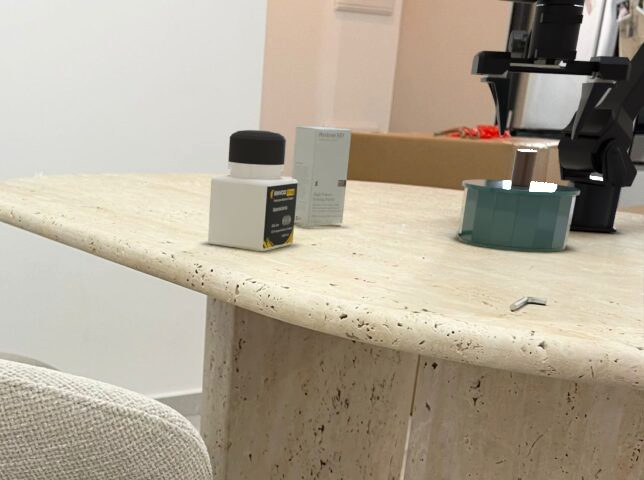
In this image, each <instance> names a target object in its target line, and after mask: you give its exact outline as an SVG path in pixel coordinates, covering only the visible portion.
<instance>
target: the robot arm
mask: <svg viewBox="0 0 644 480" xmlns="http://www.w3.org/2000/svg"><path fill="white" fill-rule="evenodd" d="M499 1H501V2H511V3H520V4H535V9H534V14H533V15H534V16H533V18H532V23H531V28H530V31H529V32H527V30H519V29H517V30H515V29H513V30H512V31H511V32H510V35H509V40H508V45H507V51H500V50H481V51H478V52H477V53H476V54H474V56H473V59H472V64H471V71H470V75H473V76H474V75H475V76H482V77H480V78H479V79H480V80H479V81H480V83H486V84H487V86H488V88H489V90H490V93H491V96H492V97H491V98H492V100H493V104H494V108H495V115H496V121H497V127H498V133H499V134H498V135H499V136H501V137H504V136H505V132H506V127H507V121H508V113H509V112H508V110H509V100H510V99H509V98H510V88H511V77H510V78H507V75H508V74H509V73H521V74H522V73H523V74H541V75H543V74H544V75H563V76H564V75H565V76H586V77H587V82H582V83H581V96H580V100H579V103H578V107H577V110H576V111H575V112H574V114H573V116H572V118H571V119H570V121H569V123H568V124H567V125H566V126H565V127H563V129H561V131H560V132H561V133H562V136H561V137H560V139H559V141H558V144H557V152H558V154H557V155H558V165H559V175H560V180H561V181H564V182H568V186H569V187H574V188H578V189H580V190H581V191H580V194H579V195H576V198H575V204H574V209H573V214H572V220H571V225H570V230H573V231H589V232H602V233H603V232H605V233H606V232H607V233H617V231H618V229H617V228H616V227H614V225H615V220H616V216H617V211H618V206H619V201H620V195H621V192H622V191H621V190H622V188H631V187H632V186H633V183H634V181H635V179H636V177H637V174H638V170H637V168H636V166H635V165H634V163H633V162H634V161H633V160H632V158H631V156H630V154H629V153H628V150H629V149H630V147H631V145H632V143H633V139H634V122H635V120H636V119H637V117H638V115H639V114H640V113H641V111H642V109H644V41H643V42H642V44H641V45H640V46H639V48H638V49H637V50H636V52H635V53H634V54H633V56H632V58H631V59H630V58H629V57H628V56H609V55H596V56H590V59H589V60H576V59H577V54H578V51H577V47H578V42H579V38H580V37H579V36H580V30H581V26H582V24H583V20H584V8H585V3H586V0H499ZM561 63H562V64H565V66H564V65H561ZM609 89H610V90H609ZM608 90H609V91H608ZM607 92H608V93H607ZM606 93H607V94H606ZM605 94H606V95H605ZM603 97H604V99H603V100H602V98H603ZM601 100H602V101H601ZM600 101H601V102H600ZM599 102H600V103H599ZM592 174H597V175H602V176H601V177H600V176H592Z"/></svg>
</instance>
